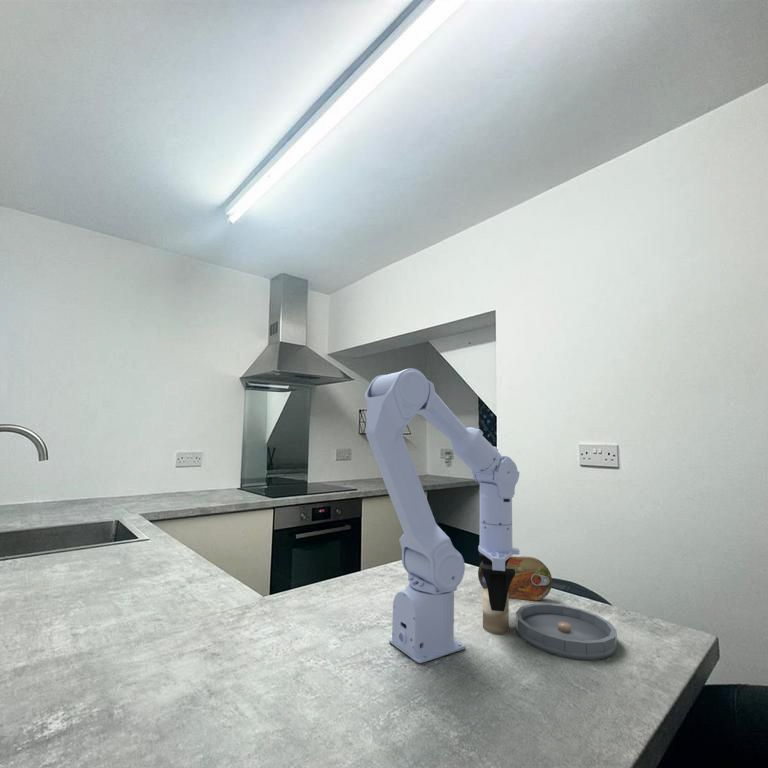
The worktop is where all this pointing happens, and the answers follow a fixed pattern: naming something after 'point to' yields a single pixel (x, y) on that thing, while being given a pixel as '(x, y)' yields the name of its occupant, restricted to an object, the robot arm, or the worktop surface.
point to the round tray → (566, 631)
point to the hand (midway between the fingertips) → (496, 601)
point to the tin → (526, 578)
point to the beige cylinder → (495, 616)
